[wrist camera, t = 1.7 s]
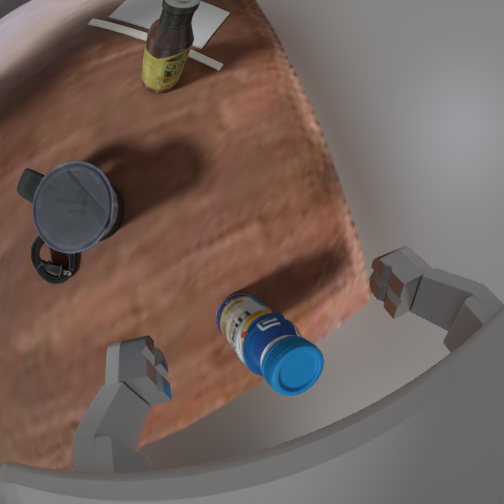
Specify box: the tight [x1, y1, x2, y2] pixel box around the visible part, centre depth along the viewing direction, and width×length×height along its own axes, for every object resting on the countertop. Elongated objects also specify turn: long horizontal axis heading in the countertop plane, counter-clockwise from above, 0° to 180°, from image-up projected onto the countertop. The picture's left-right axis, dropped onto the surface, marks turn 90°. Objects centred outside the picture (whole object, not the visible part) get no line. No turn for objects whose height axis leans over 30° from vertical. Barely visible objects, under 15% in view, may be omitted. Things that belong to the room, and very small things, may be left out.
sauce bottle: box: [142, 0, 201, 93], centre depth 27 cm, size 7×6×20 cm
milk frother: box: [17, 161, 124, 284], centre depth 28 cm, size 14×16×15 cm
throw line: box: [88, 18, 223, 71], centre depth 34 cm, size 28×2×1 cm, turn 66°
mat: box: [109, 0, 230, 49], centre depth 34 cm, size 20×12×1 cm, turn 66°
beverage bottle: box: [216, 293, 324, 396], centre depth 37 cm, size 8×8×20 cm
